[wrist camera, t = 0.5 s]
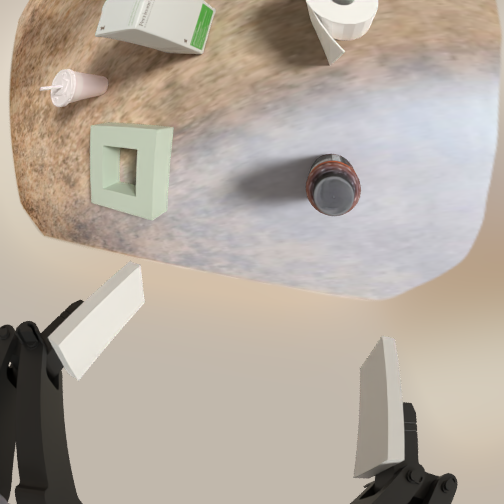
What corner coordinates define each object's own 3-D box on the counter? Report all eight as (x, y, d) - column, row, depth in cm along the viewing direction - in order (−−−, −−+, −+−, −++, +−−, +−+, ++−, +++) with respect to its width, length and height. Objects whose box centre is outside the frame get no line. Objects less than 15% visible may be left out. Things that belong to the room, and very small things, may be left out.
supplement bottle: (359, 189, 34) (371, 218, 24) (319, 201, 36) (314, 233, 27) (345, 147, 32) (353, 159, 22) (304, 160, 34) (293, 178, 25)
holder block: (108, 122, 39) (90, 125, 35) (173, 127, 37) (157, 129, 33) (107, 195, 46) (91, 202, 42) (166, 210, 44) (152, 220, 40)
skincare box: (203, 55, 30) (135, 32, 17) (165, 53, 31) (91, 39, 18) (217, 7, 26) (158, -34, 13) (178, 8, 27) (111, -22, 13)
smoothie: (115, 94, 36) (51, 100, 24) (92, 107, 38) (31, 117, 26) (111, 63, 33) (48, 62, 21) (88, 78, 35) (28, 82, 23)
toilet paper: (329, 65, 27) (329, 53, 21) (300, -1, 23) (293, -23, 17) (387, 56, 24) (400, 43, 18) (356, -11, 20) (360, -33, 14)
